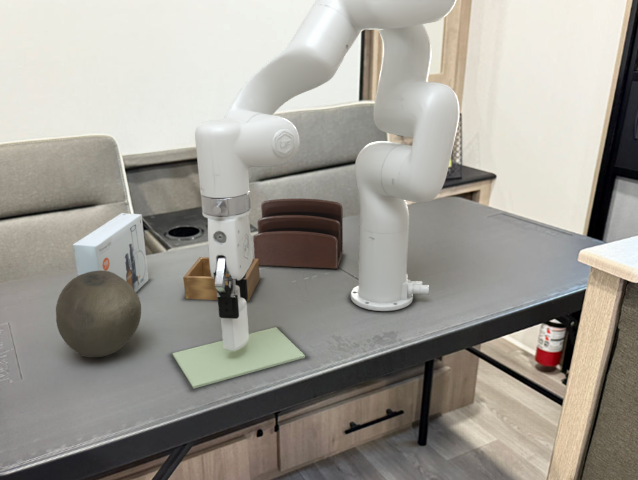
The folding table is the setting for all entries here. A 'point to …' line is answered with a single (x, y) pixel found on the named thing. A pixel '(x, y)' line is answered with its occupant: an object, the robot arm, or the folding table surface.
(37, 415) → the folding table surface
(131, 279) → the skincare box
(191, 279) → the wooden box
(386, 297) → the robot arm
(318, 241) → the letter holder
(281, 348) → the mat
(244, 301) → the eye dropper bottle
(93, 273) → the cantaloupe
